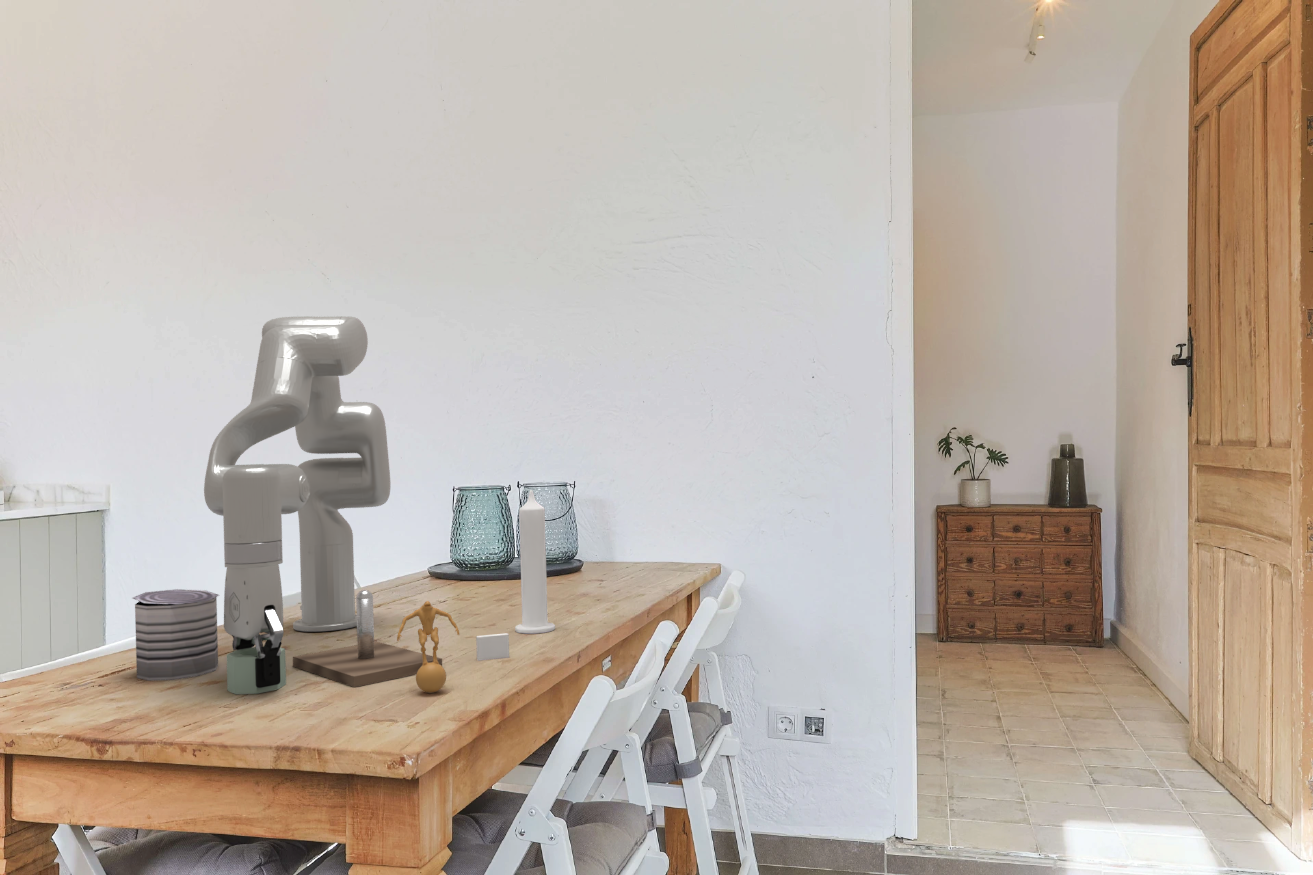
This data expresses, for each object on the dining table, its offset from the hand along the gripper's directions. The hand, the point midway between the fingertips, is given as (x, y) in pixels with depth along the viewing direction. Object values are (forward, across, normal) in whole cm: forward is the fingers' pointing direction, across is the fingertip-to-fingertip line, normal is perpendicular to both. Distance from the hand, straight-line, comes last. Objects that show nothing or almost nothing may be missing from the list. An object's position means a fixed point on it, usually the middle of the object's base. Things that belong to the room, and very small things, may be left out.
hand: (256, 680), depth 133 cm
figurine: (+1, +21, +15) cm, 26 cm away
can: (+1, -20, -4) cm, 20 cm away
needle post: (-1, +1, +16) cm, 16 cm away
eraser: (+1, +11, +32) cm, 34 cm away
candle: (+1, -2, +50) cm, 50 cm away
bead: (+1, 0, 0) cm, 1 cm away
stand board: (+1, +1, +16) cm, 16 cm away
